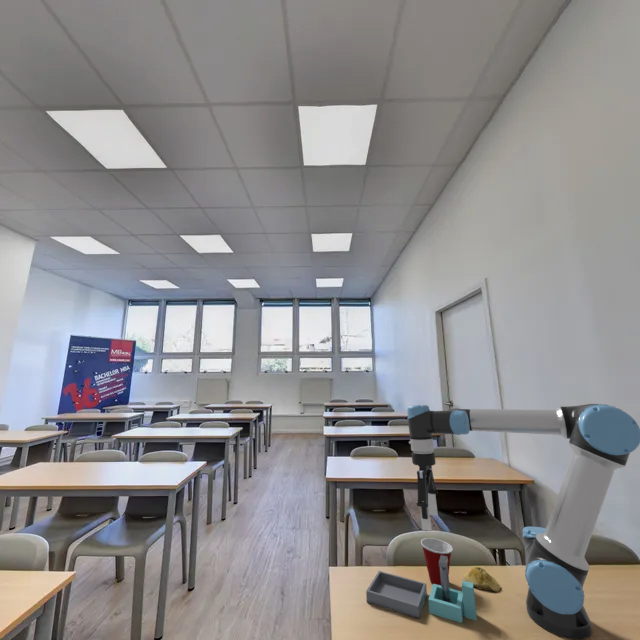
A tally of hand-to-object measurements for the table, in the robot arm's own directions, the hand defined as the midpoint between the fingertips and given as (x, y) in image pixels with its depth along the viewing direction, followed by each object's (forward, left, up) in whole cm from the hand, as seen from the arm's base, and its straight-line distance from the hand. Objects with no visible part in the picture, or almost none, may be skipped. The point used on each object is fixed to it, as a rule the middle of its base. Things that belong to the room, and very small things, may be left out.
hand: (430, 522), depth 100 cm
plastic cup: (+1, -14, -24) cm, 28 cm away
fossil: (-12, -21, -24) cm, 34 cm away
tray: (+12, +1, -24) cm, 27 cm away
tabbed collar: (-4, -1, -24) cm, 24 cm away
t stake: (-3, -1, -24) cm, 24 cm away
